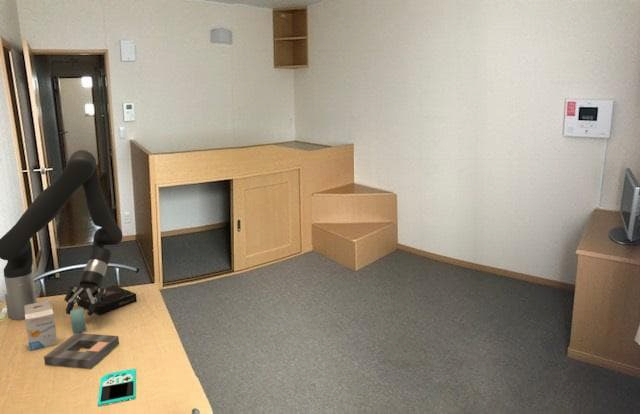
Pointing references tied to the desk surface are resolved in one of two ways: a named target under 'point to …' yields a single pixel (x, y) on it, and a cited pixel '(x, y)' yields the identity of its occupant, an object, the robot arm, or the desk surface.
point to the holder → (72, 357)
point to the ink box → (40, 325)
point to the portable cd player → (111, 300)
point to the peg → (78, 320)
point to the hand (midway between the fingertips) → (78, 314)
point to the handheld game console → (117, 387)
